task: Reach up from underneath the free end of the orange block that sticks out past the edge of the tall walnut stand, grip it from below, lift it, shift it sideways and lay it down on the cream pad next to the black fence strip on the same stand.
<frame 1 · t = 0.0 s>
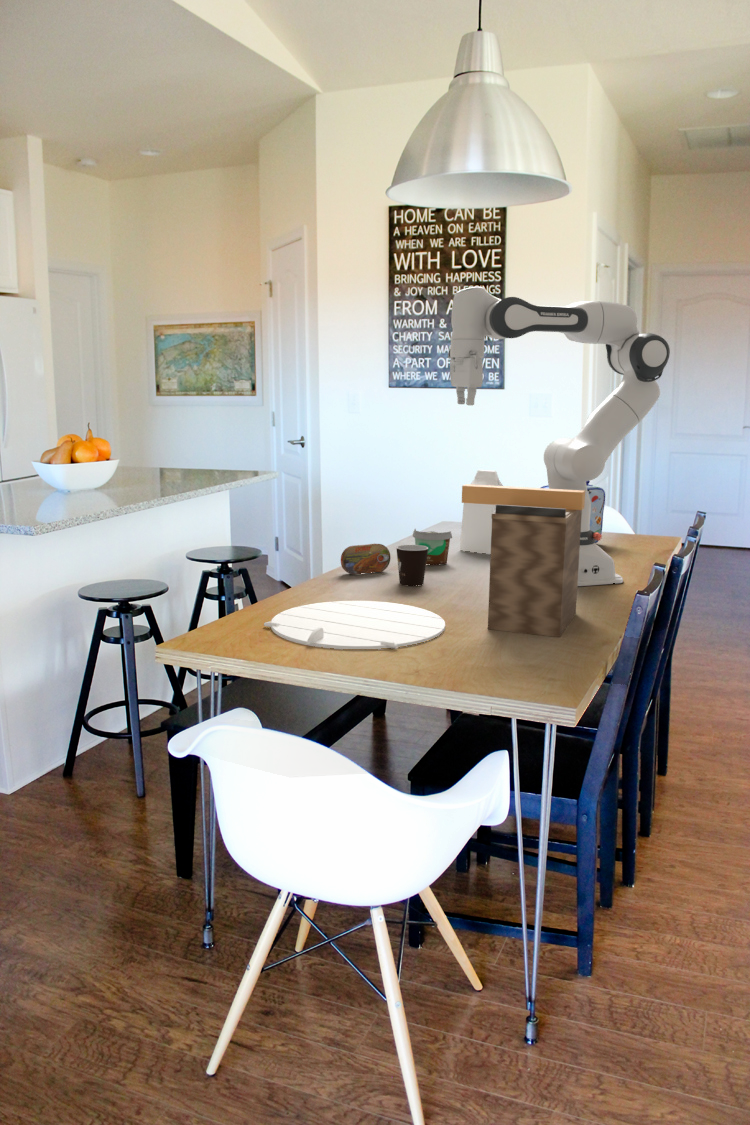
hand: (465, 404, 243), 48 cm above the table, tool pointing down, fingers open, 8 cm apart
milk: (483, 550, 300), on the table
coffee mug: (412, 583, 250), on the table
lunch box: (567, 546, 310), on the table
tin: (365, 573, 262), on the table
food container: (428, 564, 276), on the table
walnut stand: (533, 621, 211), on the table
orange block: (522, 505, 213), point 26 cm above the table, touching walnut stand
lazy susan: (357, 627, 206), on the table
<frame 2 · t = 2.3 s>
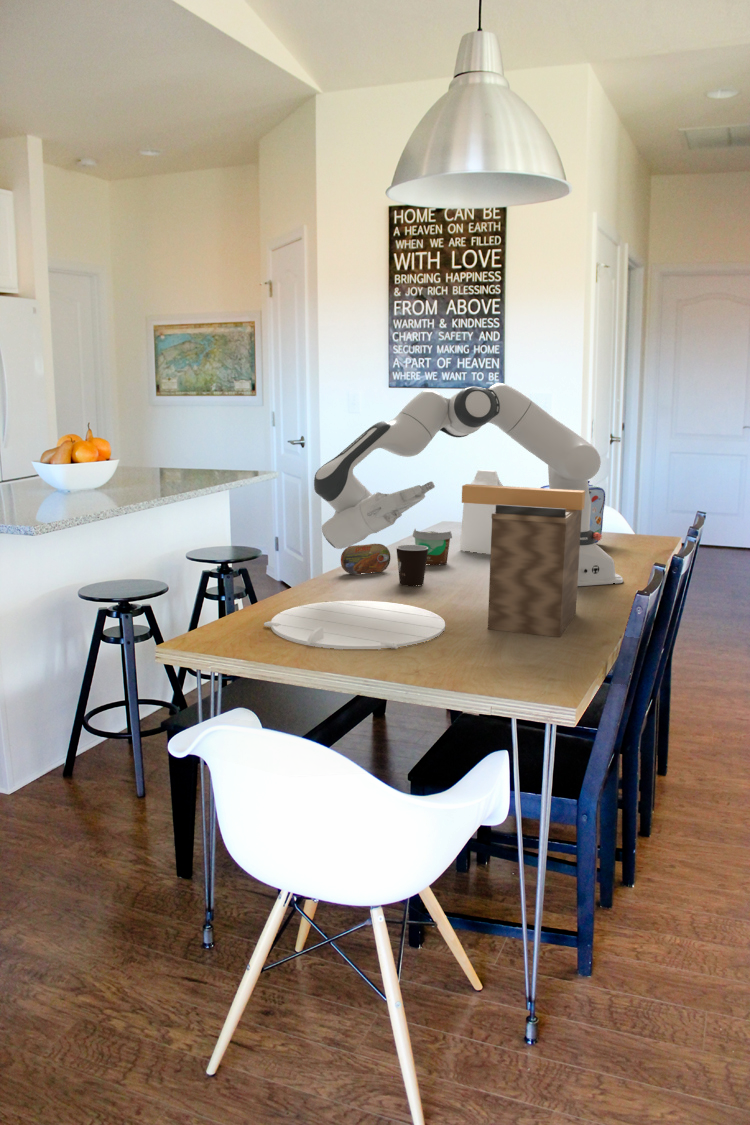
hand: (427, 486, 221), 29 cm above the table, tool pointing upward, fingers open, 8 cm apart
nothing on the table moved.
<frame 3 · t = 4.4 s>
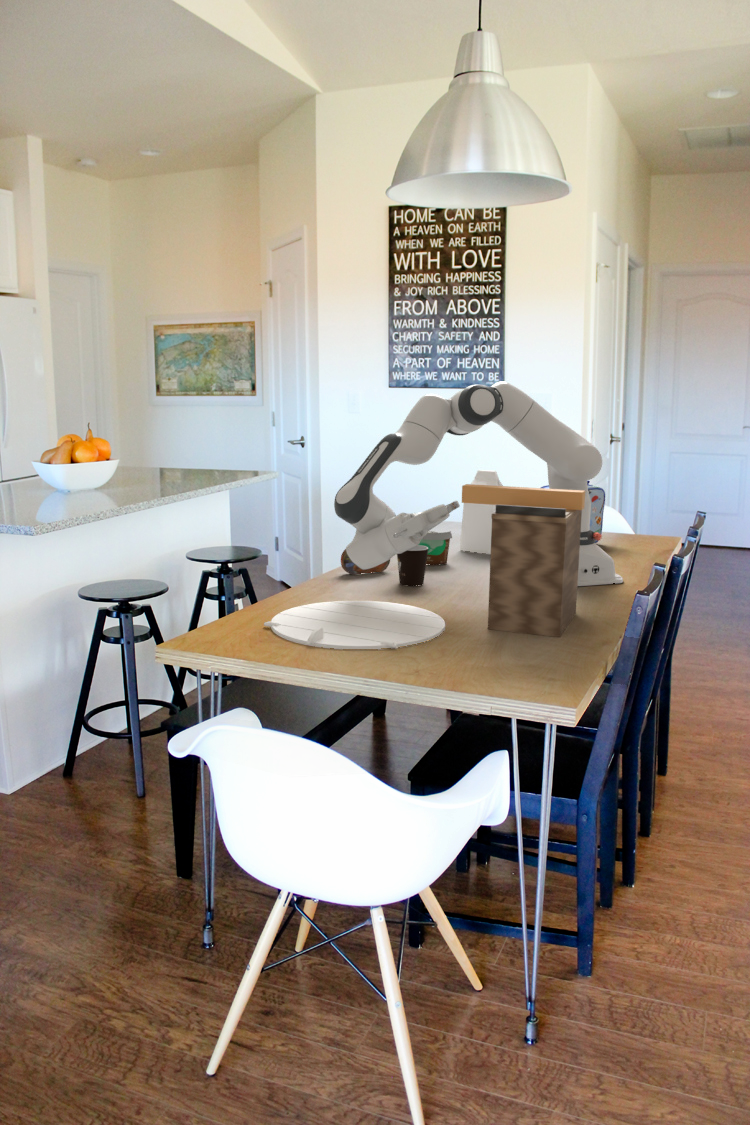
hand: (452, 505, 219), 25 cm above the table, tool pointing upward, fingers open, 8 cm apart
nothing on the table moved.
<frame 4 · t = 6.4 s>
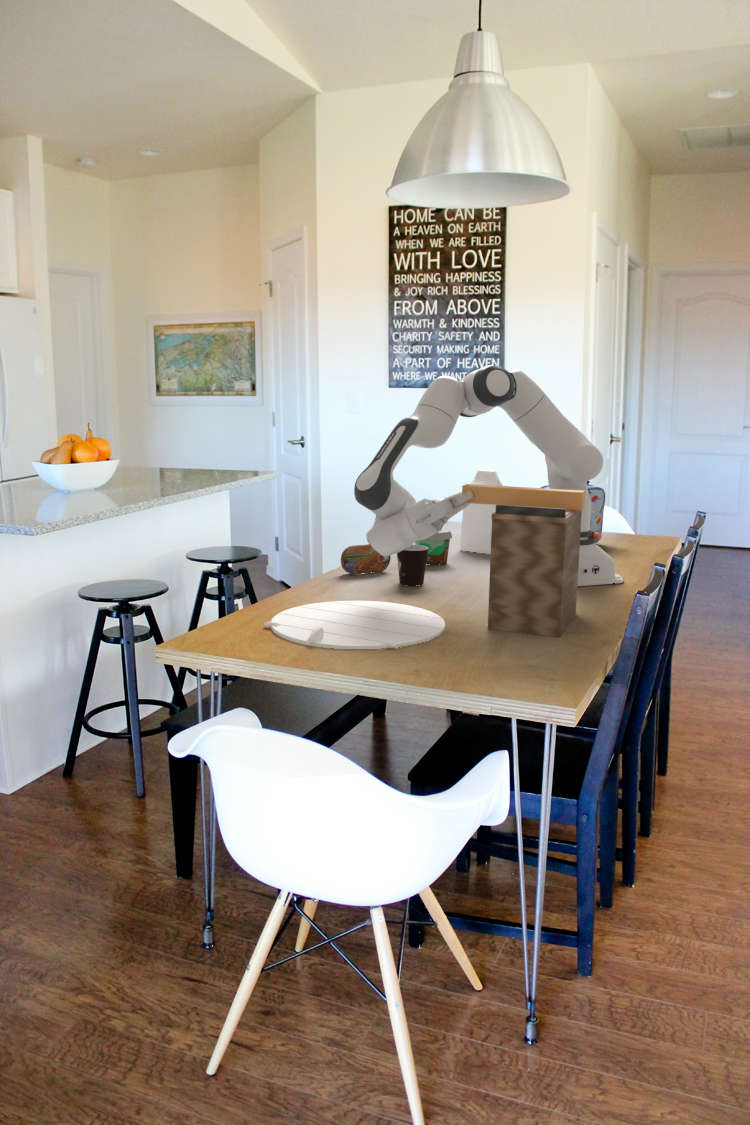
hand: (475, 492, 217), 28 cm above the table, tool pointing upward, fingers closed on orange block, 4 cm apart
orange block: (522, 505, 213), point 26 cm above the table, touching gripper, walnut stand
everything else where it was.
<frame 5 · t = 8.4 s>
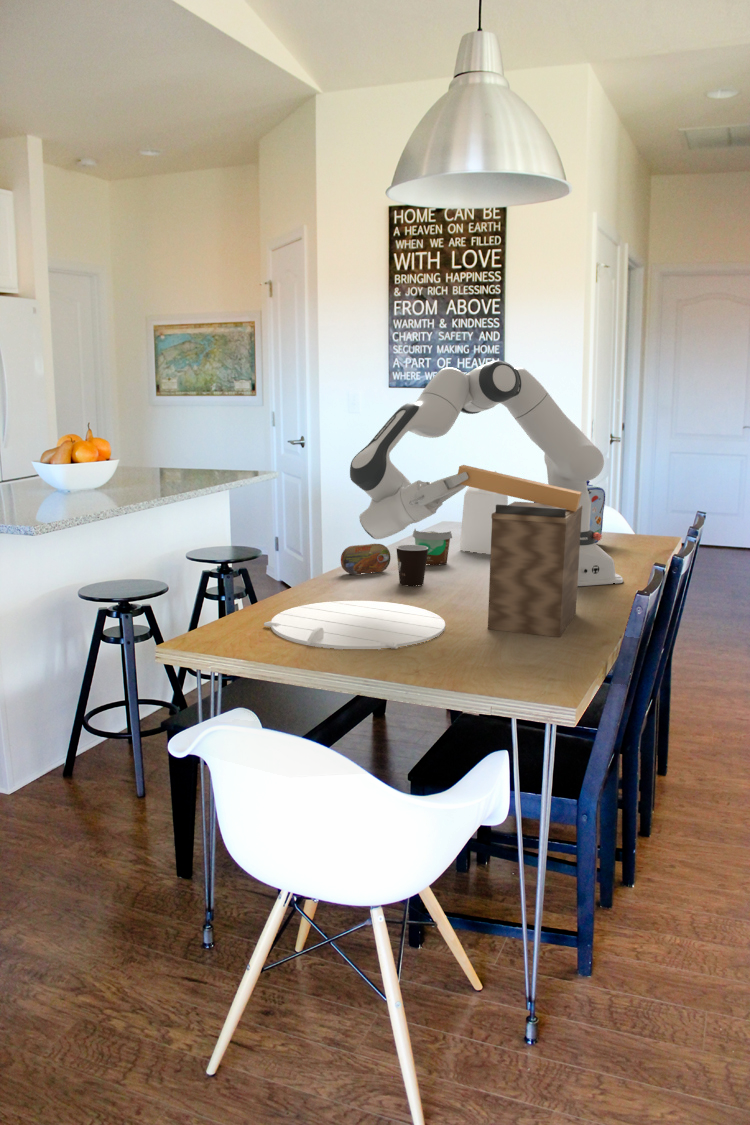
hand: (470, 473, 212), 33 cm above the table, tool pointing upward, fingers closed on orange block, 4 cm apart
orange block: (516, 496, 210), point 29 cm above the table, tilted 10°, touching gripper
everything else where it was.
when the fingers open (29 cm above the table, at t = 10.6 s): orange block stays where it is, resting on walnut stand.
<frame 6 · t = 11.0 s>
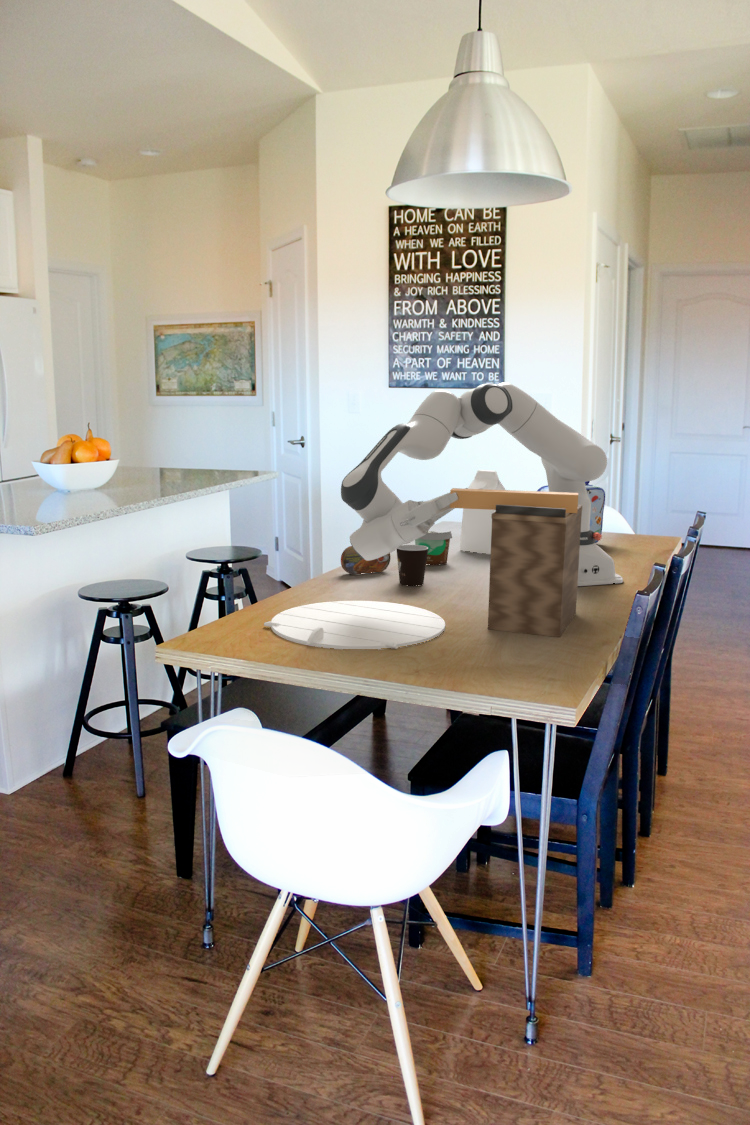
hand: (463, 493, 206), 29 cm above the table, tool pointing upward, fingers open, 8 cm apart
orange block: (513, 509, 205), point 26 cm above the table, touching walnut stand
everything else where it was.
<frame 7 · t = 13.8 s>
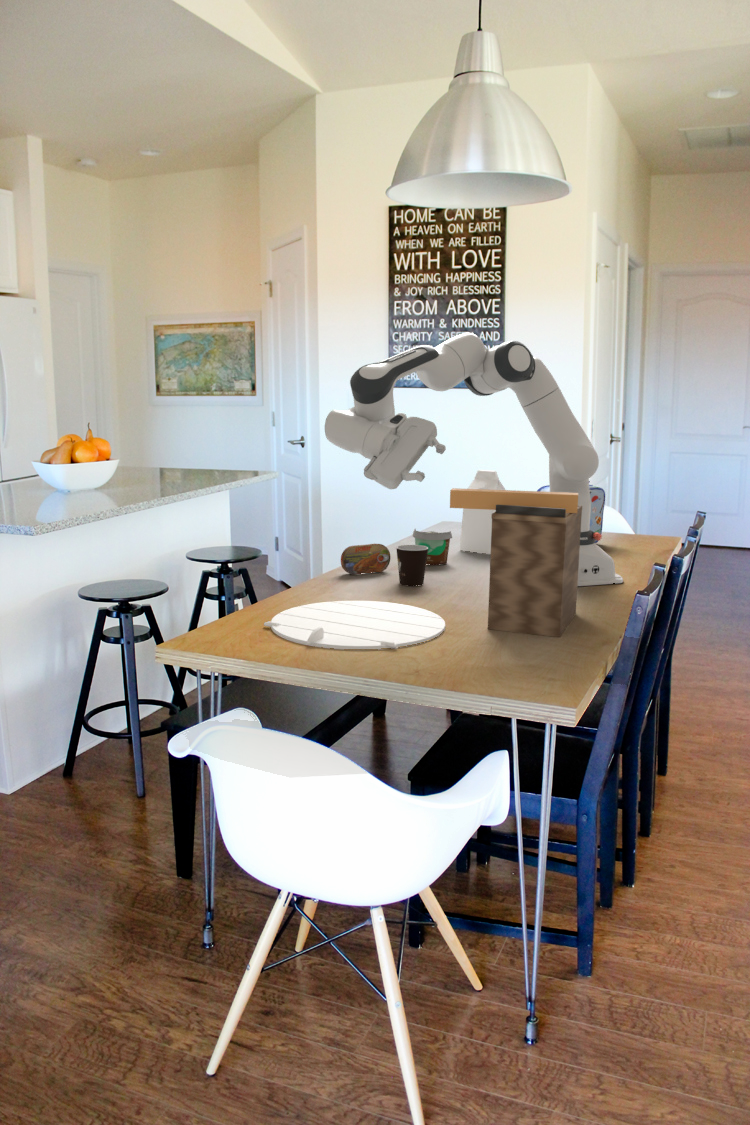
hand: (433, 463, 211), 35 cm above the table, tool tilted 75°, fingers open, 8 cm apart
nothing on the table moved.
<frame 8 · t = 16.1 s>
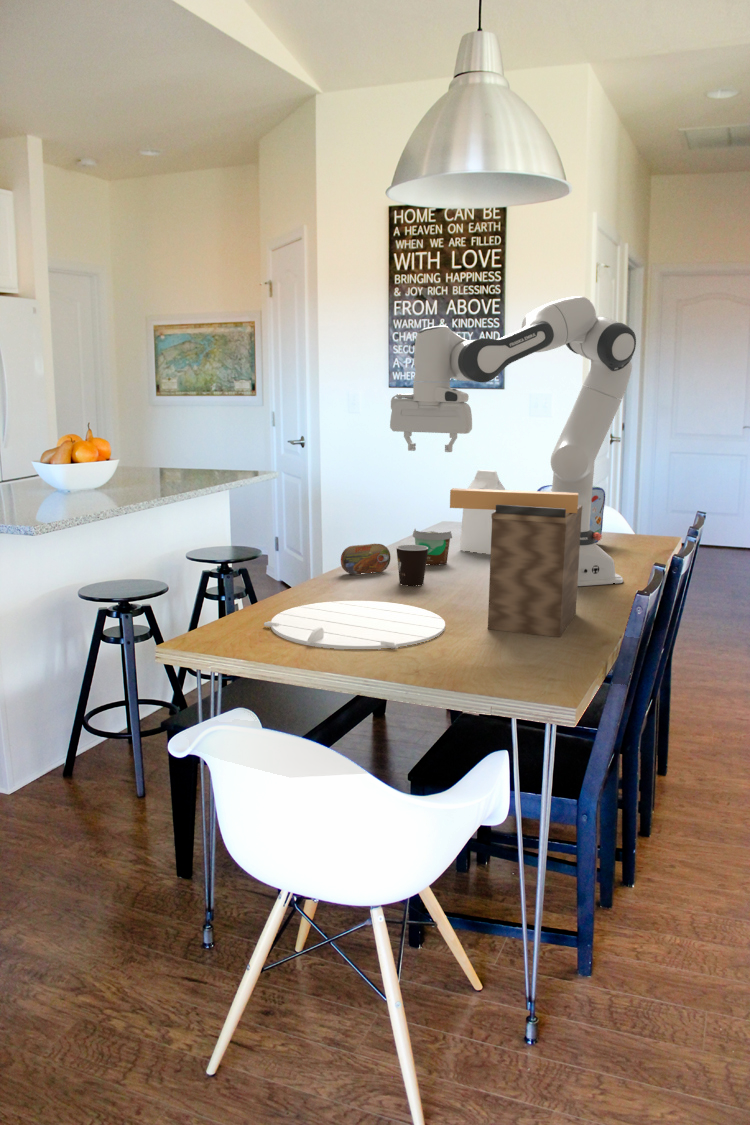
hand: (430, 451, 225), 37 cm above the table, tool pointing down, fingers open, 8 cm apart
nothing on the table moved.
at the end: orange block inside the target area (1.8 cm from its centre), point 26.2 cm above the table; the gripper is holding nothing; orange block tilted 0° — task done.
